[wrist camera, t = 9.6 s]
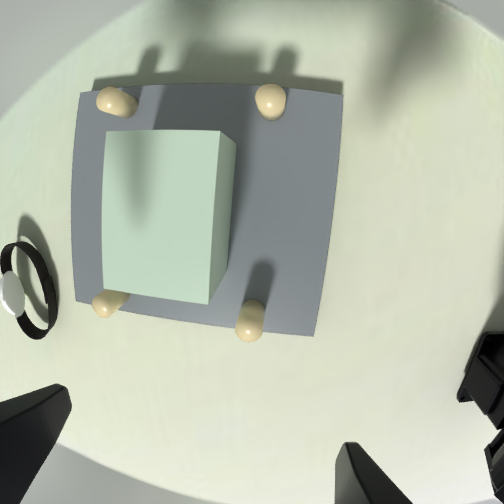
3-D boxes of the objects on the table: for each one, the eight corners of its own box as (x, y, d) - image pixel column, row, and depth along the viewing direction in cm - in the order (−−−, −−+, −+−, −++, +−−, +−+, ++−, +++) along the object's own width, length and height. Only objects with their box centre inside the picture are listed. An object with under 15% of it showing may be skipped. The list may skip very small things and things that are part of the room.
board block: (236, 144, 16) (220, 131, 11) (226, 270, 18) (208, 304, 13) (149, 141, 17) (106, 131, 12) (144, 260, 18) (103, 288, 13)
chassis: (339, 100, 16) (353, 82, 13) (311, 327, 20) (317, 358, 16) (89, 96, 17) (57, 85, 14) (84, 295, 21) (55, 314, 17)
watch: (9, 243, 21) (-20, 253, 17) (44, 232, 20) (12, 242, 16) (35, 328, 22) (10, 347, 19) (72, 327, 22) (46, 348, 18)
